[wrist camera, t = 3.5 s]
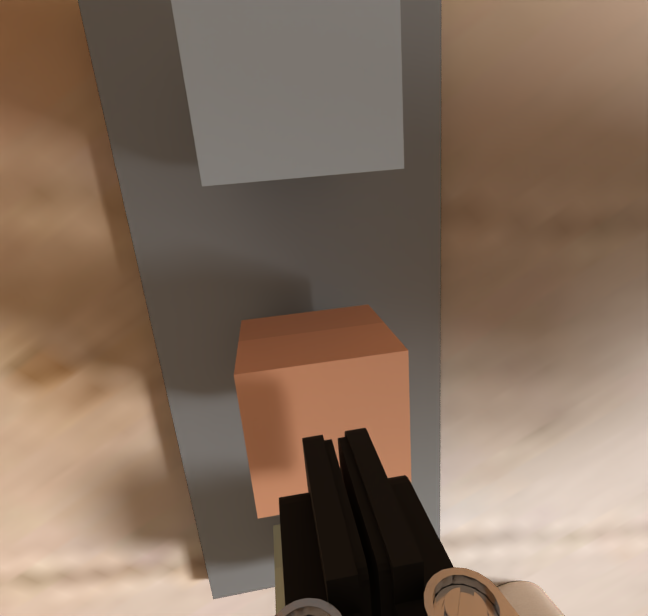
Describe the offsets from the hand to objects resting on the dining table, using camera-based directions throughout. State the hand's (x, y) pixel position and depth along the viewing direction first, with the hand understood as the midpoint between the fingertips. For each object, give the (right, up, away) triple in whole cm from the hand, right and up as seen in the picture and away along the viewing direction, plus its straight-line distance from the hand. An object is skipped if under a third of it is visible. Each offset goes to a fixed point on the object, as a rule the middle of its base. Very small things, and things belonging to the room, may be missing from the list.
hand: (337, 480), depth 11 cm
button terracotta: (-1, +2, +6) cm, 7 cm away
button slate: (-2, +11, +3) cm, 12 cm away
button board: (-1, +3, +10) cm, 10 cm away
